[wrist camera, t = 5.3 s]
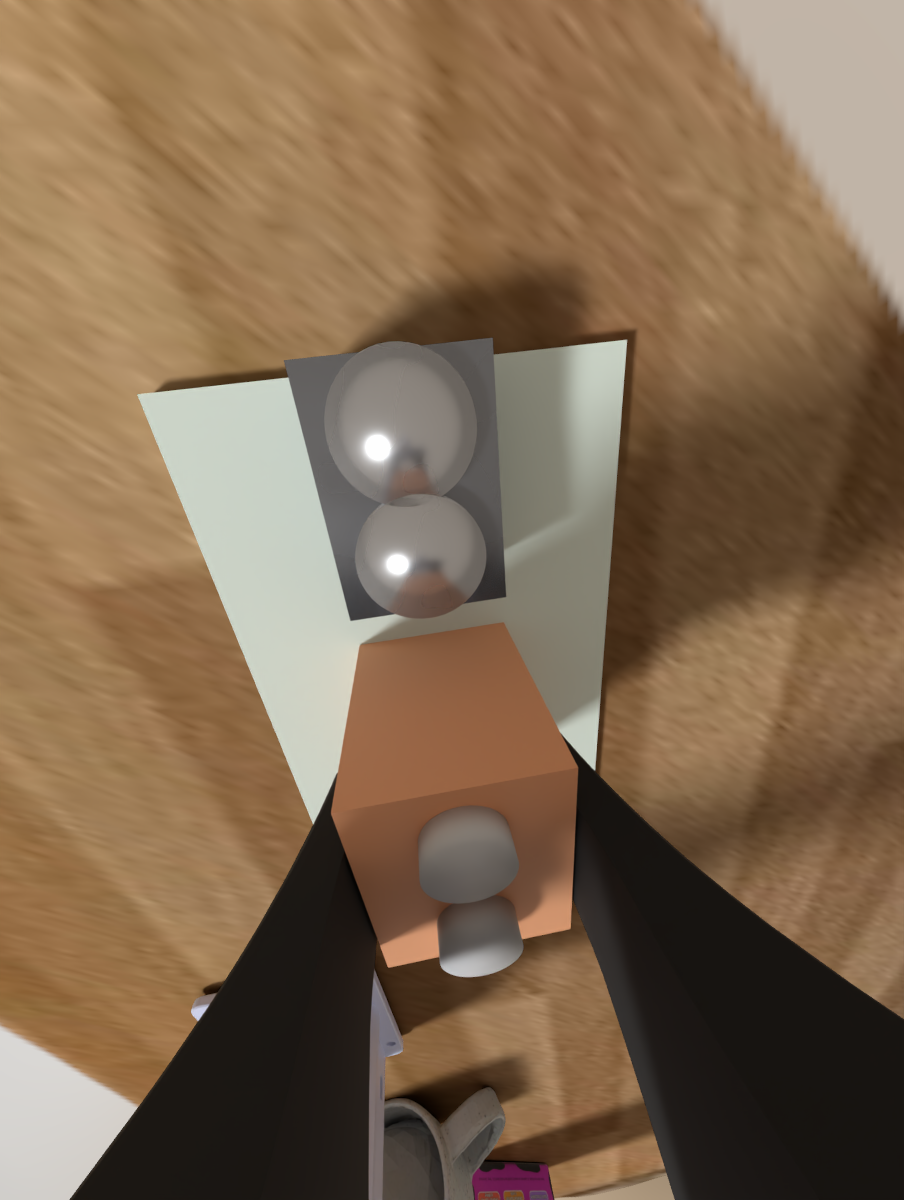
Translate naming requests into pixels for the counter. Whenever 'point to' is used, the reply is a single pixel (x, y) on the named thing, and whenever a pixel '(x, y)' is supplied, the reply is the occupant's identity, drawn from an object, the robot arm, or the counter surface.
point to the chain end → (407, 473)
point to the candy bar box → (512, 1181)
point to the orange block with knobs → (456, 800)
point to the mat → (307, 566)
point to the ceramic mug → (438, 1147)
